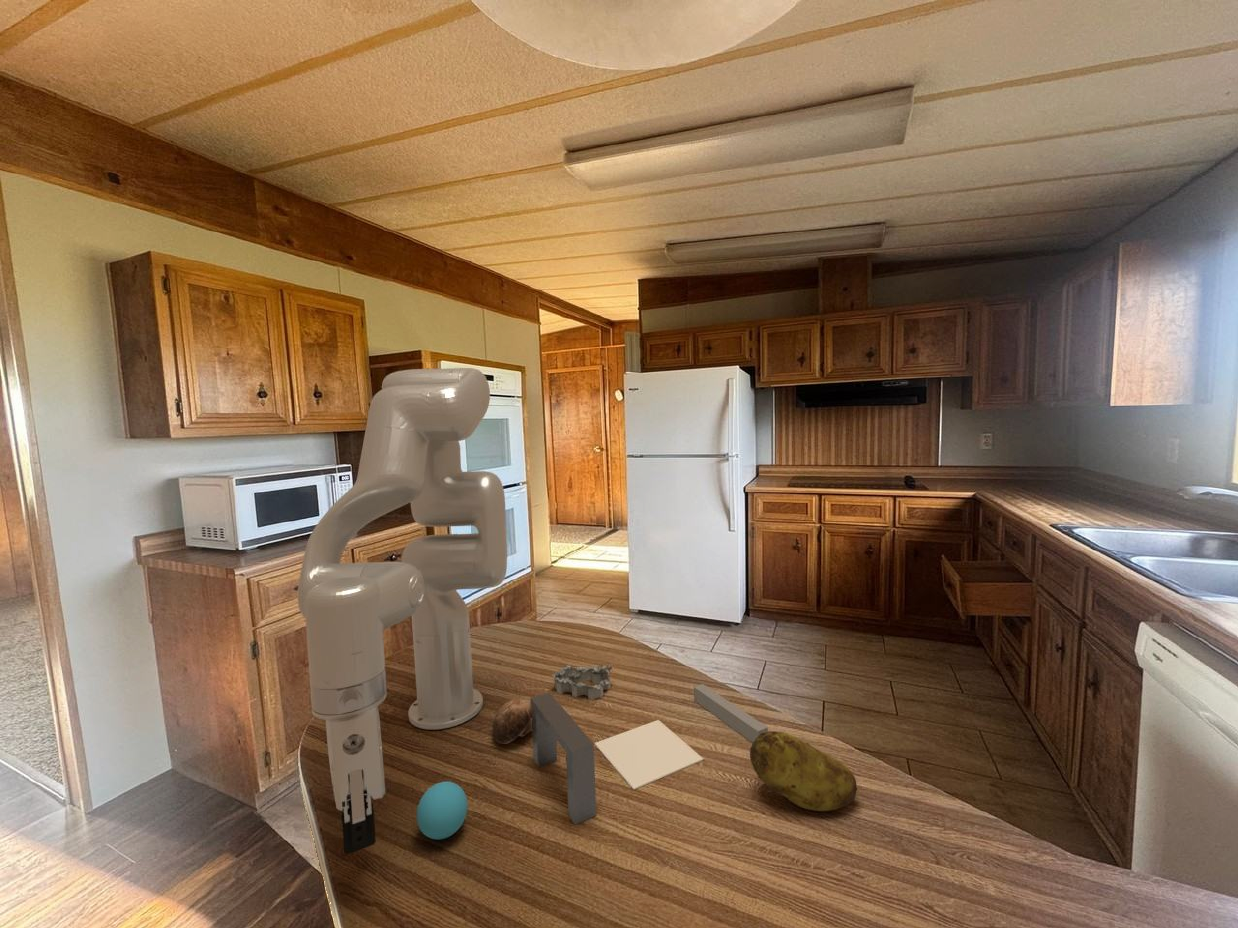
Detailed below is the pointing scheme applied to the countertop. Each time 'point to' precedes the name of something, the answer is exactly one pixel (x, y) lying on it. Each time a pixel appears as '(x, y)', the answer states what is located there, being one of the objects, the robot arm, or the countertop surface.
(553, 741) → the bridge
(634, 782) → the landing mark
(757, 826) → the countertop surface
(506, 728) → the brown rounded lump
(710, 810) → the countertop surface
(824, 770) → the potato
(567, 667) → the grey scalloped ring
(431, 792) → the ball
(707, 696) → the wall
